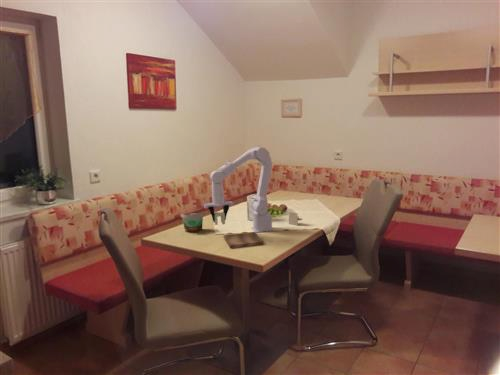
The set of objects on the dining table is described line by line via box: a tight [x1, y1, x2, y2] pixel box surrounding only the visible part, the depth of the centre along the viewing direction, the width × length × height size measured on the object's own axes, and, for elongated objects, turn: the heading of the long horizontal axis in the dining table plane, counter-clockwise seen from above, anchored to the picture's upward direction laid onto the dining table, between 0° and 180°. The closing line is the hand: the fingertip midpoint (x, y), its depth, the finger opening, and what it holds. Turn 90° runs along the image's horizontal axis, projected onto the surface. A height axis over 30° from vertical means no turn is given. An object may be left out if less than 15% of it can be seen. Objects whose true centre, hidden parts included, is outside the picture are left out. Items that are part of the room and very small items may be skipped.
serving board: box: [223, 231, 264, 249], centre depth 204 cm, size 16×16×2 cm
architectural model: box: [288, 211, 303, 227], centre depth 228 cm, size 3×7×7 cm, turn 50°
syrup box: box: [246, 193, 257, 222], centre depth 239 cm, size 6×6×14 cm
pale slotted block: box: [213, 211, 226, 226], centre depth 214 cm, size 5×5×6 cm
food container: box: [180, 211, 205, 234], centre depth 222 cm, size 12×6×10 cm, turn 105°
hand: (219, 220), depth 214 cm, fingers closed on pale slotted block, 5 cm apart
